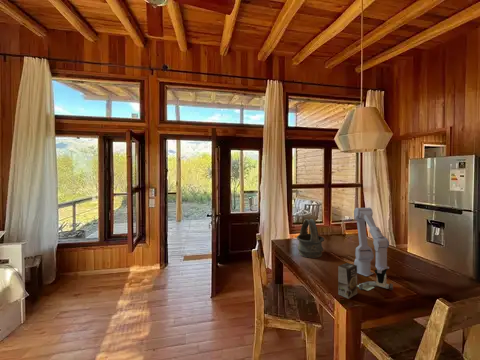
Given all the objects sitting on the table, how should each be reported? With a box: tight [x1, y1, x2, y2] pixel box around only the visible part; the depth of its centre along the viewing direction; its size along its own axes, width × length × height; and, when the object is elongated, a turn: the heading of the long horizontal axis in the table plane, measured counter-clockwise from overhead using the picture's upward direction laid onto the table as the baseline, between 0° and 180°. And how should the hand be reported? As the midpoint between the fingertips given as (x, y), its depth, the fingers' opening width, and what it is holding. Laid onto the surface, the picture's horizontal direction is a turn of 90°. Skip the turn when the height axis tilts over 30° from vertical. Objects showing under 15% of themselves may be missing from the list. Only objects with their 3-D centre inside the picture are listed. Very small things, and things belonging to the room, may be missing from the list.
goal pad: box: [357, 282, 376, 292], centre depth 142 cm, size 7×7×1 cm
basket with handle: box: [296, 218, 325, 259], centre depth 201 cm, size 22×23×30 cm
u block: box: [375, 273, 387, 288], centre depth 142 cm, size 4×5×6 cm
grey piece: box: [358, 280, 394, 291], centre depth 141 cm, size 6×19×3 cm, turn 87°
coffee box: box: [337, 262, 358, 300], centre depth 134 cm, size 9×6×16 cm
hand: (381, 281), depth 142 cm, fingers closed on u block, 5 cm apart
